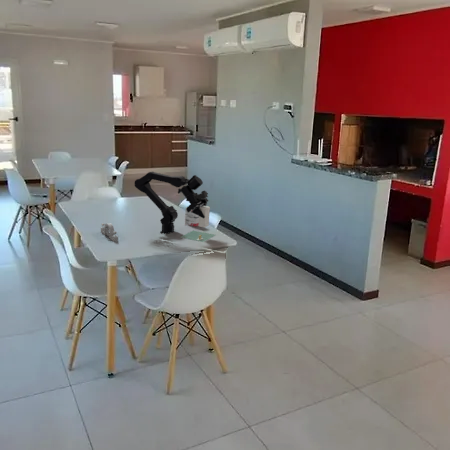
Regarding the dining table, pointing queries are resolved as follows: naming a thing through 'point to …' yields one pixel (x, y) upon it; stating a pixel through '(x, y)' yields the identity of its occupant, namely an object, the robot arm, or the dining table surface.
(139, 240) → the dining table surface
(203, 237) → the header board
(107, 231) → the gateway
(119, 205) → the dining table surface
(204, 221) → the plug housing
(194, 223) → the ink box
